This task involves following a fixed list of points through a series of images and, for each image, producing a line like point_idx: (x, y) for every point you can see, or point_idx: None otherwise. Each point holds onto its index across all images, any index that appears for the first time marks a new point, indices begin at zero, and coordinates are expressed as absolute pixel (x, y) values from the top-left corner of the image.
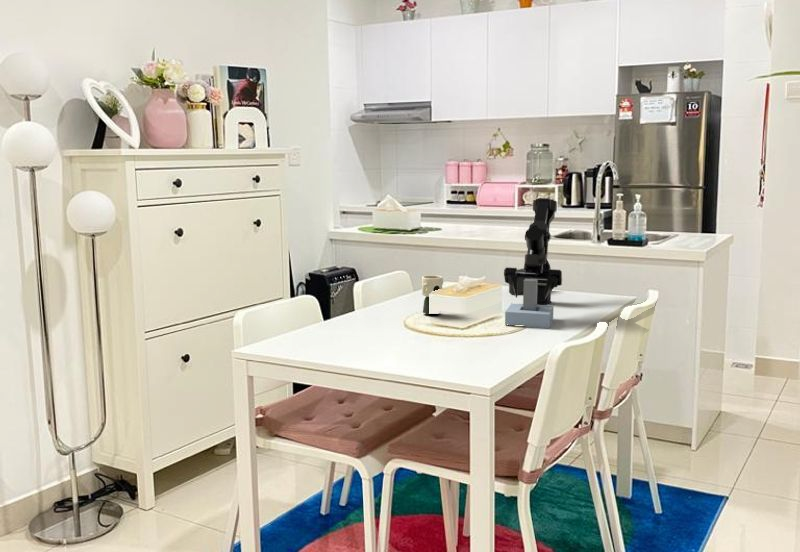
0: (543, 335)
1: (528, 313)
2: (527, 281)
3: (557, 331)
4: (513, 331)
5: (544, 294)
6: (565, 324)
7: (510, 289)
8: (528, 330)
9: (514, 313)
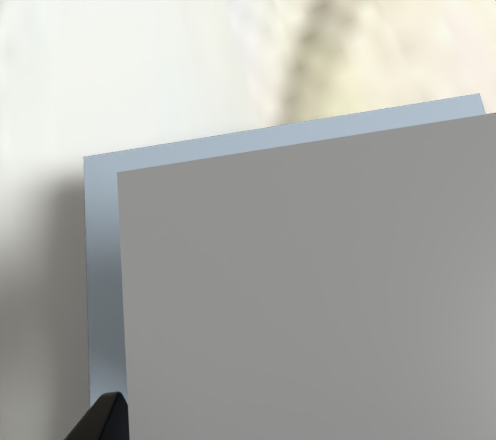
0: (136, 15)
1: (265, 128)
2: (388, 138)
3: (71, 138)
4: (325, 28)
5: (102, 424)
6: (37, 365)
7: None
8: (245, 88)
9: (390, 112)
